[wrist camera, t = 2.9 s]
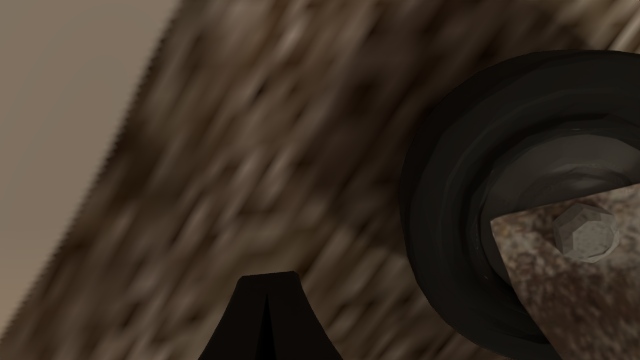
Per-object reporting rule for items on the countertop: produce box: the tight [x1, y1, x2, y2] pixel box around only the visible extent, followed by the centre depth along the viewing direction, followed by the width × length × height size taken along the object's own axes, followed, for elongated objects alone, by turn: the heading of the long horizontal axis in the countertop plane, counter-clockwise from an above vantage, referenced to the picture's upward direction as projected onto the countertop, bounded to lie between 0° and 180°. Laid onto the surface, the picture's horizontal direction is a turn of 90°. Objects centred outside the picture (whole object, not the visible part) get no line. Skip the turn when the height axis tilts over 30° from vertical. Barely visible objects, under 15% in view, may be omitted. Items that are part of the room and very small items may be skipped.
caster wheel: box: [399, 50, 640, 360], centre depth 12 cm, size 7×11×10 cm
